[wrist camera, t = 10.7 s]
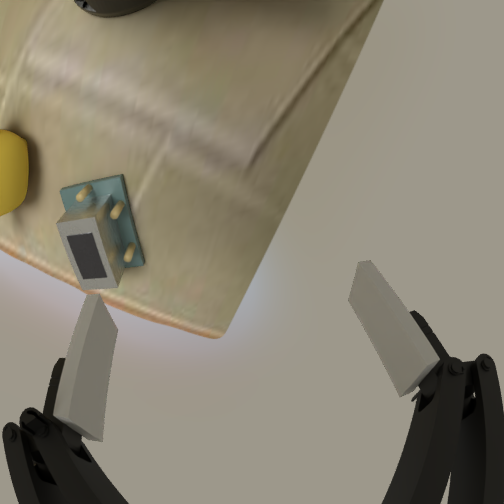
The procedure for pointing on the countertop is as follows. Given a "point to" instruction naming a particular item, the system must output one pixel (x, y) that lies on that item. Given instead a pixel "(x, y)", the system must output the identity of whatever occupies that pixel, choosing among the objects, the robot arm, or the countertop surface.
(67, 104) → the countertop surface
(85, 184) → the pegboard
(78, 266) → the grey box
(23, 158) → the teapot
